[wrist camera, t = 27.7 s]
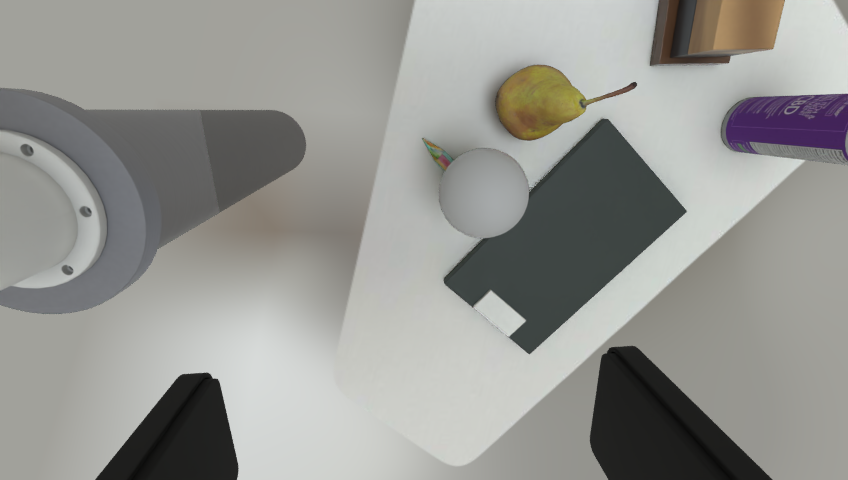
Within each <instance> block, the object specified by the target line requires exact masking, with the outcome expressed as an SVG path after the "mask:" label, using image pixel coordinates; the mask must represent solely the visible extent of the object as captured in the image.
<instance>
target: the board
mask: <svg viewBox="0 0 848 480" xmlns="http://www.w3.org/2000/svg"><path fill="white" fill-rule="evenodd" d="M686 212H687V211H686V210H685V208H684V207H683V206H682V205H681V204H680V203H679V201H678V200H677V199H676V198H675V197H674V196H673V194H672V193H671V192H670V191H669V190H668V189H667V187H666V186H665V185H664V184H663V183H662V182H661V180H660V179H659V178H658V177H657V176H656V175H655V173H654V172H653V171H652V170H651V169H650V168H649V166H648V165H647V164H646V163H645V162H644V161H643V159H642V158H641V157H640V156H639V155H638V154H637V152H636V151H635V150H634V149H633V148H632V147H631V145H630V144H629V143H628V142H627V141H626V140H625V138H624V137H623V136H622V135H621V134H620V133H619V131H618V130H617V129H616V128H615V127H614V126H613V124H612V123H611V122H610V121H609V120H608V119H602V120H601V121H600V122H599V123H598V124H597V125H596V126H595V127H594V128H593V129H592V130H591V131H590V132H589V133H588V134H587V135H586V136H585V137H584V138H583V139H582V140H581V141H580V142H579V143H578V144H577V145H576V146H575V147H574V148H573V149H572V150H571V151H570V152H569V153H568V154H567V155H566V156H565V157H564V158H563V159H562V160H561V161H560V162H559V163H558V164H557V165H556V166H555V167H554V168H553V169H552V170H551V171H550V172H549V173H548V174H547V175H546V176H545V177H544V178H543V179H542V180H541V181H540V182H539V183H538V184H537V186H536V187H535V188H534V189H533V190H532V191H531V192H530V193H529V199H528V204H527V208H526V210H525V212H524V214H523V216H522V218H521V219H520V221H519V222H518V223H517V224H516V225H515V226H514V227H513V228H511V229H510V230H509V231H507V232H505V233H503V234H501V235H498V236H495V237H491V238H484V239H483V240H482V241H481V242H480V243H479V244H478V245H477V246H476V247H475V248H474V249H473V250H472V251H471V252H470V253H469V254H468V255H467V256H466V257H465V258H464V259H463V260H462V261H461V262H460V263H459V264H458V265H457V266H456V267H455V268H454V269H453V270H452V271H451V272H450V273H449V274H448V276H447V277H446V278H445V279H444V283H445V285H447V286H448V287H449V288H450V289H451V290H453V291H454V292H455V293H456V294H457V295H459V296H460V297H461V298H462V299H463V300H465V301H466V302H467V303H468V304H469V305H471V306H472V307H473V306H474V305H475V304H476V303H477V302H478V301H479V300H480V299H481V298H482V297H483V296H484V295H485V294H486V293H487V292H488V291H489V290H490V289H491V290H492V291H493V292H494V293H495V294H497V295H498V296H499V297H500V298H501V299H502V300H504V301H505V302H506V303H507V304H508V305H509V306H511V307H512V308H513V309H514V310H515V311H516V312H517V313H519V314H520V315H521V316H522V317H523V318H524V319H525V320H526V321H525V322H524V323H523V324H522V325H521V326H520V327H519V328H518V329H517V330H516V331H515V332H514V333H512V334H511V335H510V336H509V338H510V339H512V340H513V341H514V342H515V343H516V344H518V345H519V346H520V347H521V348H522V349H524V350H525V351H526V352H527V353H528V354H530V353H531V352H533V351H534V350H535V349H536V348H537V347H538V346H539V345H540V344H541V343H542V342H544V341H545V340H546V339H547V338H548V337H549V336H550V335H551V334H552V333H553V332H555V331H556V330H557V329H558V328H559V327H560V326H561V325H562V324H563V323H565V322H566V321H567V320H568V319H569V318H570V317H571V316H572V315H573V314H574V313H576V312H577V311H578V310H579V309H580V308H581V307H582V306H583V305H584V304H585V303H587V302H588V301H589V300H590V299H591V298H592V297H593V296H594V295H595V294H597V293H598V292H599V291H600V290H601V289H602V288H603V287H604V286H605V285H606V284H608V283H609V282H610V281H611V280H612V279H613V278H614V277H615V276H616V275H618V274H619V273H620V272H621V271H622V270H623V269H624V268H625V267H626V266H627V265H629V264H630V263H631V262H632V261H633V260H634V259H635V258H636V257H637V256H638V255H640V254H641V253H642V252H643V251H644V250H645V249H646V248H647V247H648V246H650V245H651V244H652V243H653V242H654V241H655V240H656V239H657V238H658V237H659V236H661V235H662V234H663V233H664V232H665V231H666V230H667V229H668V228H669V227H670V226H672V225H673V224H674V223H675V222H676V221H677V220H678V219H679V218H680V217H682V216H683V215H684V214H685V213H686Z"/></svg>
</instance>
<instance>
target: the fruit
mask: <svg viewBox="0 0 848 480" xmlns="http://www.w3.org/2000/svg"><path fill="white" fill-rule="evenodd" d="M636 86H637V83H636V82H633V83H631V84H630V85H628V86H627V87H624V88H623V89H620V90H617V91H614V92H612V93H608V94H606V95H603V96H601V97H596V98H594V99H590V100H586V99H585V97H584V96H583V95H582V94H581V93H580V91H579V90H578V89H576V88H575V87H573V86H572V85H571V83H570V81H569V80H568V79H567V78H566V76H565V75H564V74H563V73H562V72H560V71H559V70H557V69H555V68H553V67H551V66H547V65H532V66H528V67H526V68H523V69H522V70H520V71H518V72H517V73H515V74H514V75H512V76H511V77H510V78H508V79H507V80H506V81H505V83H504V84H503V85H502V86H501V88H500V89H499V91H498V93H497V96H496V110H497V113H498V116H499V119H500V121H501V123H502V124H503V126H504V127H505V128H506V129H507V130H508V131H509V133H511V134H512V135H513V136H514V137H516V138H518V139H521V140H535V139H539V138H542V137H544V136H546V135H548V134H549V133H551V132H553V131H554V130H556V129H557V128H558V127H560V126H561V125H562V124H563V123H566V122H569V121H571V120H573V119H575V118H577V117H579V116H580V115H582V114H583V113H584V112H585V110H586V106H587V105H589V104H591V103H593V102H597V101H600V100H603V99H605V98H609V97H613V96H616V95H619V94H623V93H625V92H628V91H630V90H632V89H634V88H635V87H636Z"/></svg>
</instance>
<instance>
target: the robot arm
mask: <svg viewBox="0 0 848 480" xmlns="http://www.w3.org/2000/svg"><path fill="white" fill-rule="evenodd" d="M106 236H107V218H106V214H105V210H104V206H103V203H102V201H101V199H100V196H99V194H98V192H97V190H96V188H95V187H94V185H93V184H92V182H91V181H90V179H89V178H88V176H87V175H86V174H85V173H84V172H83V171H82V170H81V169H80V168H79V166H78V165H77V164H76V163H75V162H73V161H72V160H71V159H70V158H69V157H67V156H66V155H65V154H64V153H62V152H61V151H60V150H58V149H56V148H55V147H53V146H51V145H49V144H48V143H46V142H44V141H42V140H39V139H37V138H35V137H32V136H30V135H27V134H23V133H19V132H15V131H11V130H0V291H1V290H3V289H5V288H7V287H9V286H15V287H21V288H46V287H54V286H57V285H60V284H63V283H66V282H68V281H70V280H72V279H74V278H76V277H78V276H80V275H81V274H83V273H84V272H85V271H87V270H88V269H89V268H91V267H92V266H93V264H94V263H95V262H96V261H97V259H98V258H99V257H100V255H101V252H102V250H103V248H104V246H105V241H106ZM590 444H591V448H592V451H593V453H594V455H595V457H596V459H597V460H598V462H599V464H600V466H601V467H602V469H603V471H604V473H605V474H606V476H607V478H608V480H772V479H771V478H770V477H769V476H768V475H767V474H766V473H765V472H764V471H763V470H762V469H761V468H760V467H759V466H758V465H757V464H756V463H755V462H754V461H753V460H752V459H751V458H750V457H749V456H747V454H746V453H745V452H744V451H743V450H742V449H740V447H738V446H737V445H736V444H735V443H734V442H733V441H732V440H731V439H730V438H729V437H728V436H727V435H726V434H725V433H724V432H723V431H722V430H721V429H720V428H719V427H718V426H717V425H716V424H715V423H714V422H713V421H712V420H711V419H710V418H709V417H708V416H707V415H706V414H705V413H704V412H703V411H702V410H701V409H700V408H699V407H697V405H696V404H694V403H693V402H692V401H691V400H690V399H689V398H688V397H687V396H686V395H685V394H684V393H683V392H682V391H681V390H680V389H679V388H678V387H677V386H676V385H675V384H674V383H673V382H672V381H671V380H670V379H669V378H668V377H667V376H666V375H665V374H664V373H663V372H662V371H661V370H660V369H659V368H658V367H656V365H655V364H653V363H652V362H651V361H650V360H649V359H648V358H647V357H646V356H645V355H644V354H643V353H642V352H641V351H640V350H639V349H638V348H636V347H635V346H624V347H611V348H609V350H608V351H607V354H603V355H602V358H601V364H600V370H599V378H598V384H597V392H596V398H595V405H594V413H593V419H592V427H591V434H590ZM237 477H238V462H237V457H236V453H235V449H234V444H233V440H232V435H231V431H230V427H229V422H228V418H227V413H226V409H225V404H224V400H223V396H222V391H221V387H220V383H219V381H218V379H212V376H211V375H210V374H209V373H195V374H183V375H180V376H179V377H178V378H177V379H176V380H175V382H174V383H173V384H172V385H171V387H170V388H169V389H168V390H167V392H166V393H165V394H164V395H163V397H162V398H161V399H160V400H159V401H158V403H157V404H156V405H155V406H154V408H153V409H152V410H151V411H150V413H149V414H148V415H147V416H146V418H145V419H144V420H143V421H142V422H141V424H140V425H139V426H138V427H137V429H136V430H135V431H134V433H133V434H132V435H131V436H130V437H129V439H128V440H127V441H126V442H125V444H124V445H123V446H122V447H121V448H120V450H119V451H118V452H117V454H116V455H115V456H114V457H113V458H112V460H111V461H110V462H109V463H108V465H107V466H106V467H105V468H104V470H103V471H102V472H101V473H100V475H99V476H98V477H97V478H96V480H237Z"/></svg>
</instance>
